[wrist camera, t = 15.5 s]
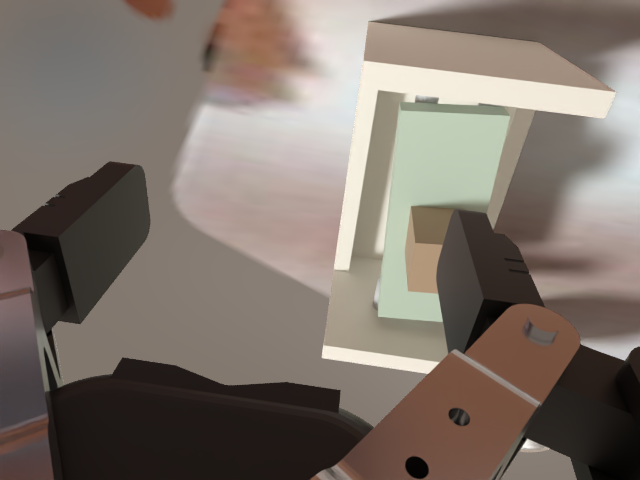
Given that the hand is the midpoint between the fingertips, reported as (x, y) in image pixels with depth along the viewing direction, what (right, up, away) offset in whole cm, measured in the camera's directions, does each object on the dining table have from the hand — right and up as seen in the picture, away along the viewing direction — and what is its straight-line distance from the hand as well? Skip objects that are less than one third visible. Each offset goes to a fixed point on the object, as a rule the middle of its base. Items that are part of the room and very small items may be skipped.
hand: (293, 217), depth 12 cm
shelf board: (+9, +1, +25) cm, 27 cm away
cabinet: (+10, +7, +33) cm, 35 cm away
